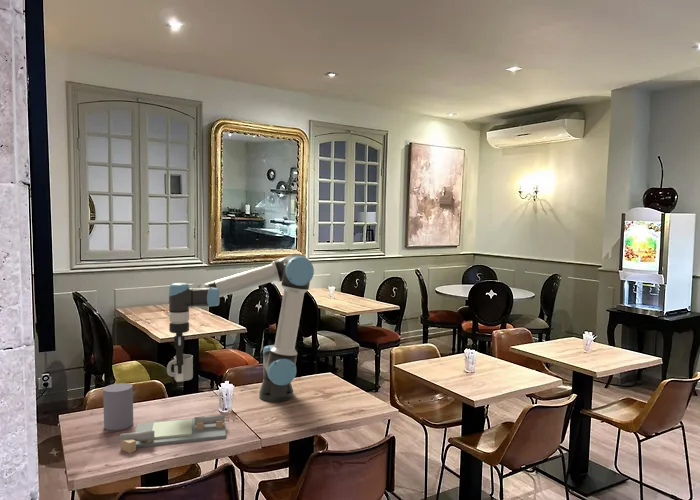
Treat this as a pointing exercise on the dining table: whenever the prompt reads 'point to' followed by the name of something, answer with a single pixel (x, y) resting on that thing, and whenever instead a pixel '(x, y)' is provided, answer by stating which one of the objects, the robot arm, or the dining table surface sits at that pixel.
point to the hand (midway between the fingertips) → (179, 378)
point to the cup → (186, 367)
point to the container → (118, 406)
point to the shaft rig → (174, 432)
